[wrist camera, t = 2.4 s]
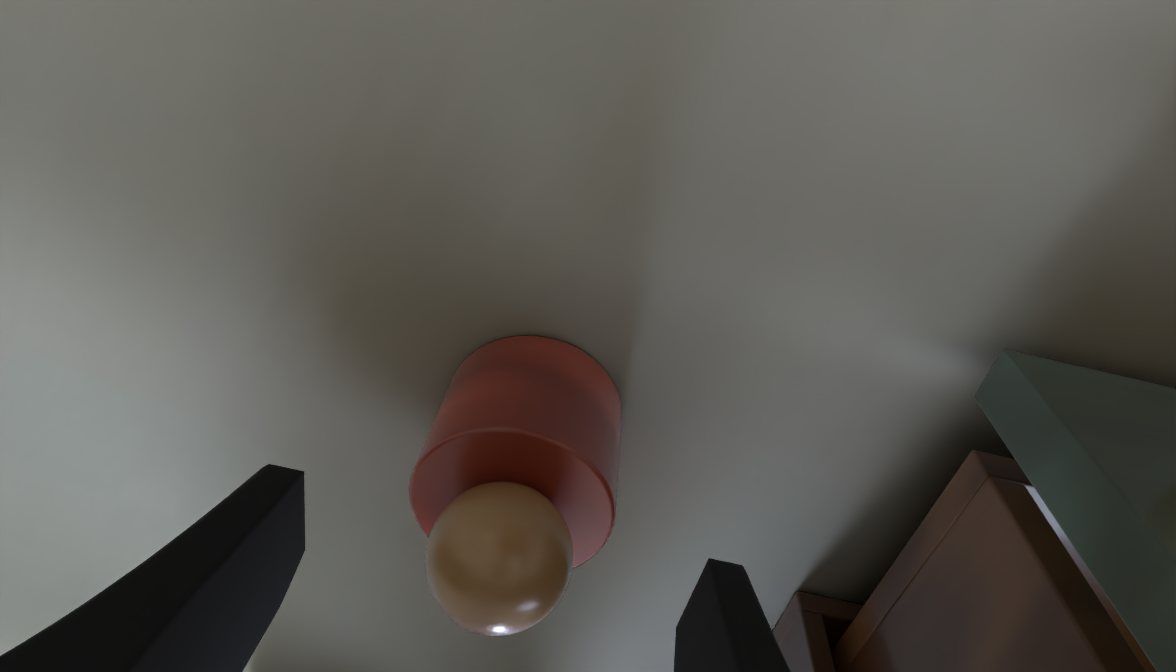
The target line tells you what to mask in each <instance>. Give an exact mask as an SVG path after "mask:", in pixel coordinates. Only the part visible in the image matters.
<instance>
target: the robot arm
mask: <svg viewBox="0 0 1176 672" xmlns="http://www.w3.org/2000/svg"><path fill="white" fill-rule="evenodd" d="M304 551H305V504H304V471H299V470H295V469H290V468H285V467H281V466H276V465H271V464H268V465H266V466H264V467H262V468H261V469H260V470H259V471H258V472H257V473H255V474H254V475H253V476H252V477H251V478H249V479H248V480H247V481H246V482H245V483H243V484H242V485H241V486H240V487H239V488H237V489H236V490H235V491H234V492H233V493H231V494H230V495H229V496H228V497H227V498H225V499H224V500H223V501H222V502H220V503H219V504H218V505H217V506H216V507H214V508H213V509H212V510H211V511H209V512H208V513H207V514H206V515H204V516H203V517H202V518H201V519H199V520H198V521H197V522H196V523H194V524H193V525H192V526H190V527H189V528H188V529H187V530H185V531H184V532H183V533H181V534H180V535H179V536H177V537H176V538H175V539H173V540H172V541H171V542H170V543H168V544H167V545H166V546H164V547H163V548H162V549H160V550H159V551H158V552H156V553H155V554H154V555H153V556H151V557H150V558H148V559H147V560H146V561H144V562H143V563H142V564H140V565H139V566H137V567H136V568H135V569H133V570H132V571H130V572H129V573H127V574H126V575H125V576H123V577H122V578H120V579H119V580H117V581H116V582H115V583H113V584H112V585H110V586H109V587H108V588H106V589H105V590H103V591H102V592H100V593H99V594H98V595H96V596H95V597H93V598H92V599H90V600H89V601H87V602H86V603H84V604H83V605H81V606H80V607H78V608H77V609H75V610H74V611H72V612H71V613H69V614H68V615H66V616H65V617H63V618H61V619H60V620H58V621H57V622H55V623H54V624H52V625H51V626H49V627H47V628H46V629H44V630H42V631H41V632H39V633H38V634H36V635H34V636H33V637H31V638H30V639H28V640H26V641H25V642H23V643H21V644H20V645H18V646H16V647H15V648H13V649H11V650H10V651H8V652H6V653H5V654H3V655H1V656H0V672H242V671H243V669H244V668H245V666H246V664H247V663H248V661H249V659H250V658H251V656H252V654H253V652H254V651H255V649H256V647H257V646H258V644H259V642H260V640H261V639H262V637H263V635H264V633H265V632H266V630H267V628H268V627H269V625H270V623H271V621H272V620H273V618H274V616H275V614H276V613H277V611H278V609H279V607H280V605H281V603H282V601H283V599H284V597H285V594H286V592H287V590H288V588H289V586H290V583H291V581H292V579H293V577H294V574H295V572H296V570H297V567H298V565H299V563H300V560H301V558H302V556H303V553H304ZM674 672H791V671H790V669H789V667H788V665H787V663H786V661H785V659H784V656H783V654H782V652H781V650H780V648H779V646H778V644H777V641H776V639H775V637H774V635H773V633H772V630H771V628H770V626H769V624H768V622H767V619H766V617H765V615H764V612H763V610H762V608H761V606H760V603H759V601H758V599H757V596H756V594H755V592H754V589H753V587H752V584H751V582H750V580H749V577H748V575H747V573H746V571H745V569H744V567H743V566H742V565H738V564H733V563H729V562H724V561H719V560H715V559H710V558H709V559H708V561H707V563H706V566H705V568H704V570H703V572H702V574H701V576H700V578H699V580H698V582H697V584H696V587H695V589H694V591H693V593H692V595H691V597H690V599H689V601H688V603H687V606H686V608H685V610H684V612H683V614H682V616H681V618H680V620H679V622H678V625H677V627H676V640H675V659H674Z"/></svg>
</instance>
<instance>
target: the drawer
mask: <svg viewBox="0 0 1176 672" xmlns="http://www.w3.org/2000/svg"><path fill="white" fill-rule="evenodd" d="M974 398H975V400H976V401H977V403H978V404H979V406H980V407H981V409H982V410H983V412H984V413H985V415H986V416H987V418H988V419H989V421H990V422H991V424H992V425H993V427H994V428H995V430H996V431H997V433H998V434H999V436H1000V437H1001V439H1002V440H1003V442H1004V443H1005V445H1006V446H1007V448H1008V449H1009V451H1010V452H1011V454H1012V455H1013V457H1014V458H1015V459H1011V458H1006V457H1002V456H997V455H993V454H988V453H984V452H980V451H975V450H973V451H971V452H970V453H969V455H968V456H967V458H966V459H965V461H964V462H963V464H962V465H961V466H960V468H959V469H958V471H957V472H956V474H955V475H954V476H953V478H952V479H951V481H950V482H949V484H948V485H947V487H946V488H945V489H944V491H943V492H942V494H941V495H940V497H939V498H938V499H937V501H936V502H935V504H934V505H933V507H932V508H931V510H930V511H929V512H928V514H927V515H926V517H925V518H924V520H923V521H922V522H921V524H920V525H919V527H918V528H917V530H916V531H915V533H914V534H913V535H912V537H911V538H910V540H909V541H908V543H907V544H906V545H905V547H904V548H903V550H902V551H901V553H900V554H899V556H898V557H897V558H896V560H895V561H894V563H893V564H892V566H891V567H890V568H889V570H888V571H887V573H886V574H885V576H884V577H883V579H882V580H881V581H880V583H879V584H878V586H877V587H876V589H875V590H874V591H873V593H872V594H871V596H870V597H869V599H868V600H867V602H866V603H865V604H864V606H863V607H862V609H861V610H860V612H859V613H858V614H857V616H856V617H855V619H854V620H853V622H852V623H851V625H850V626H849V627H848V629H847V630H846V632H845V633H844V635H843V636H842V637H841V639H840V640H839V642H838V643H837V645H836V646H835V648H834V649H833V650H832V652H831V655H832V659H833V663H834V668H835V672H1176V389H1174V388H1170V387H1166V386H1162V385H1157V384H1153V383H1149V382H1145V381H1140V380H1136V379H1132V378H1127V377H1123V376H1119V375H1115V374H1110V373H1106V372H1102V371H1098V370H1093V369H1089V368H1085V367H1080V366H1076V365H1072V364H1068V363H1063V362H1059V361H1055V360H1050V359H1046V358H1042V357H1038V356H1033V355H1029V354H1025V353H1021V352H1016V351H1012V350H1008V349H1004V350H1003V351H1002V353H1001V354H1000V356H999V357H998V359H997V360H996V362H995V363H994V365H993V366H992V368H991V369H990V371H989V373H988V374H987V376H986V377H985V379H984V380H983V382H982V383H981V385H980V386H979V388H978V389H977V391H976V392H975V394H974Z"/></svg>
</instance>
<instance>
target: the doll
mask: <svg viewBox="0 0 1176 672" xmlns="http://www.w3.org/2000/svg"><path fill="white" fill-rule="evenodd" d="M620 431H621V403H620V398H619V395H618V392H617V389H616V387H615V385H614V383H613V381H612V380H611V378H610V377H609V375H608V374H607V373H606V371H605V370H604V369H603V368H602V367H601V366H600V365H599V364H598V363H597V362H596V361H595V360H594V359H593V358H591V357H590V356H589V355H587V354H586V353H584V352H583V351H581V350H580V349H578V348H576V347H574V346H572V345H570V344H567V343H564V342H561V341H559V340H555V339H551V338H547V337H539V336H514V337H508V338H503V339H499V340H497V341H494V342H491V343H489V344H487V345H485V346H483V347H481V348H479V349H477V350H476V351H474V352H473V353H472V354H470V355H469V356H468V357H467V358H466V359H465V360H464V361H463V362H462V363H461V365H460V366H459V367H458V369H457V370H456V372H455V374H454V376H453V378H452V380H451V383H450V385H449V387H448V390H447V392H446V394H445V397H444V399H443V401H442V404H441V406H440V408H439V411H438V413H437V415H436V418H435V420H434V422H433V425H432V427H431V429H430V432H429V434H428V436H427V439H426V441H425V443H424V445H423V448H422V450H421V452H420V455H419V457H418V459H417V462H416V464H415V466H414V469H413V472H412V475H411V478H410V484H409V497H410V503H411V507H412V511H413V514H414V516H415V519H416V520H417V522H418V524H419V526H420V527H421V529H422V530H423V531H424V533H425V534H426V535H427V537H428V542H427V546H426V552H425V572H426V577H427V582H428V586H429V588H430V591H431V593H432V595H433V598H434V600H435V601H436V603H437V604H438V606H439V607H440V609H441V610H442V611H443V612H444V614H446V615H447V616H448V617H449V618H450V619H451V620H452V621H453V622H455V623H456V624H457V625H459V626H461V627H462V628H464V629H466V630H469V631H471V632H474V633H477V634H482V635H488V636H505V635H511V634H515V633H518V632H521V631H524V630H526V629H528V628H530V627H532V626H534V625H535V624H537V623H539V622H540V621H541V620H542V619H544V618H545V617H546V616H547V615H548V614H549V613H550V612H551V611H552V610H553V609H554V607H555V606H556V605H557V604H558V603H559V601H560V599H561V597H562V596H563V594H564V592H565V590H566V588H567V585H568V582H569V579H570V576H571V571H572V569H573V568H575V567H577V566H579V565H581V564H583V563H584V562H586V561H587V560H589V559H590V558H591V557H593V556H594V555H595V554H596V553H597V552H598V551H599V550H600V549H601V548H602V546H603V545H604V544H605V542H606V541H607V539H608V537H609V536H610V534H611V531H612V528H613V526H614V521H615V514H616V498H617V481H618V464H619V448H620Z"/></svg>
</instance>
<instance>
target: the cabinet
mask: <svg viewBox="0 0 1176 672" xmlns="http://www.w3.org/2000/svg"><path fill="white" fill-rule="evenodd" d="M863 606H864V605H859V604H855V603H850V602H845V601H841V600H836V599H831V598H827V597H822V596H817V595H812V594H808V593H803V592H796V593H795V595H794V597H793V598H792V600H791V602H790V603H789V605H788V607H787V608H786V610H785V612H784V613H783V615H782V617H781V618H780V620H779V622H778V623H777V625H776V627H775V628H774V630H773V632H772V633H773V635H774V637H775V639H776V641H777V644H778V646H779V648H780V650H781V652H782V654H783V656H784V659H785V661H786V663H787V665H788V667H789V669H790V671H791V672H835V668H834V663H833V659H832V655H831V652H832V650H833V649H834V648H835V646H836V645H837V643H838V642H839V640H840V639H841V637H842V636H843V635H844V633H845V632H846V630H847V629H848V627H849V626H850V625H851V623H852V622H853V620H854V619H855V617H856V616H857V614H858V613H859V612H860V610H861V609H862V607H863Z"/></svg>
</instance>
